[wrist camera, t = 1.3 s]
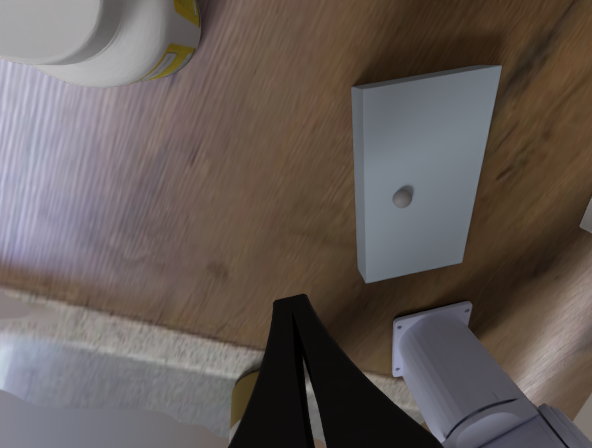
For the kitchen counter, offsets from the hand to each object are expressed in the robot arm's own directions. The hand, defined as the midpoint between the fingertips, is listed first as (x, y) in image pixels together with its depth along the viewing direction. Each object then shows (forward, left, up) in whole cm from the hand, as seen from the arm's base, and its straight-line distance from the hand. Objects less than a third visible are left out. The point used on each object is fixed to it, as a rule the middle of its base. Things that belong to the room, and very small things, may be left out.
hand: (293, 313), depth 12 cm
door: (0, -10, -10) cm, 14 cm away
